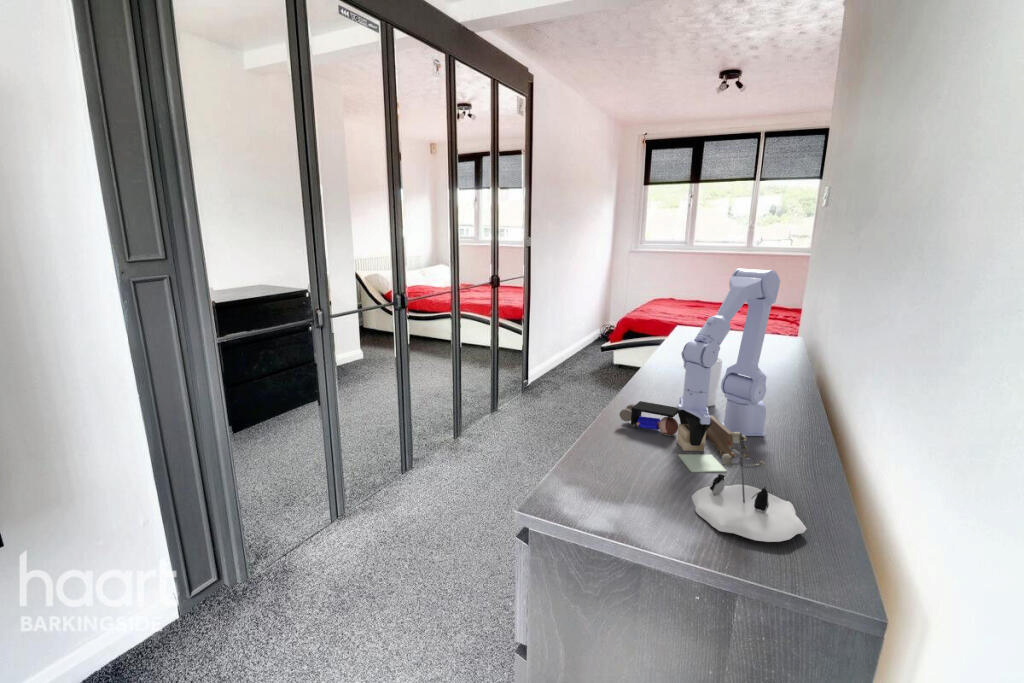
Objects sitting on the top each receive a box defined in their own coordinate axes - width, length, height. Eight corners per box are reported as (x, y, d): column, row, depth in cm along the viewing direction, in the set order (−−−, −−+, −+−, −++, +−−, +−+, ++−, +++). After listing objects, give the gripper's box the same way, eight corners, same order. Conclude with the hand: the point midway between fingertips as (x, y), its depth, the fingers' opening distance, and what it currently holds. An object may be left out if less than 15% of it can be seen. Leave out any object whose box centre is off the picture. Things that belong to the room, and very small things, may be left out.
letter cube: (696, 442, 120) (698, 423, 119) (704, 450, 115) (706, 431, 114) (676, 442, 120) (678, 423, 119) (684, 450, 115) (686, 431, 114)
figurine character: (619, 432, 130) (674, 440, 121) (617, 405, 128) (673, 412, 119) (628, 424, 135) (681, 432, 126) (627, 399, 134) (681, 404, 125)
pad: (711, 456, 113) (711, 454, 112) (726, 472, 105) (726, 470, 105) (678, 455, 112) (678, 454, 112) (691, 472, 105) (691, 470, 105)
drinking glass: (694, 406, 147) (699, 360, 143) (694, 399, 153) (699, 355, 149) (717, 409, 144) (723, 362, 141) (717, 402, 150) (722, 357, 147)
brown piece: (713, 436, 124) (715, 415, 123) (734, 457, 112) (737, 434, 111) (702, 436, 124) (704, 415, 123) (722, 457, 112) (725, 433, 111)
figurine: (831, 534, 82) (836, 445, 80) (746, 554, 77) (749, 460, 74) (744, 487, 101) (746, 414, 99) (671, 501, 96) (672, 424, 93)
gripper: (669, 380, 122) (665, 428, 125) (691, 398, 107) (685, 453, 110) (696, 380, 122) (691, 428, 125) (721, 399, 108) (715, 453, 110)
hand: (690, 440), depth 118 cm, fingers closed on letter cube, 5 cm apart
